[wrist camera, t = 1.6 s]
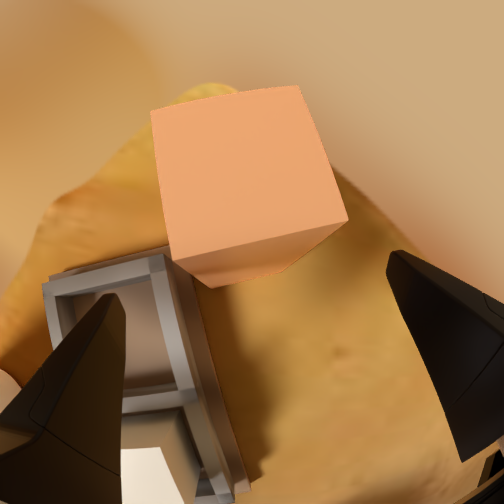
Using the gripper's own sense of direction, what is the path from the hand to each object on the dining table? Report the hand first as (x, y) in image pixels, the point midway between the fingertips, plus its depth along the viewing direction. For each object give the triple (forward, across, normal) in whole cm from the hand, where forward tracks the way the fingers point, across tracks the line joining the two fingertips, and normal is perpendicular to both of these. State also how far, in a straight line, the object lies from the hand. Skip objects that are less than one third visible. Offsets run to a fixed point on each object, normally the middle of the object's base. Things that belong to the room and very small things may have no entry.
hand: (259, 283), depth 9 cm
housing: (+4, +8, +12) cm, 15 cm away
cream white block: (0, +8, +14) cm, 16 cm away
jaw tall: (+11, 0, +6) cm, 12 cm away
